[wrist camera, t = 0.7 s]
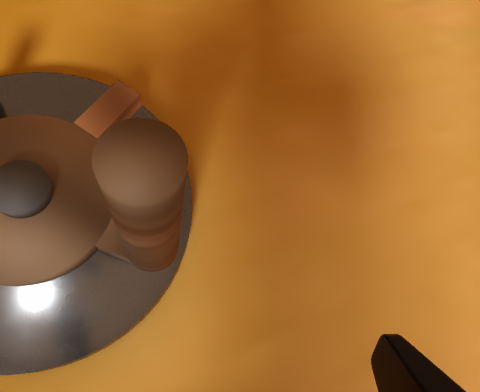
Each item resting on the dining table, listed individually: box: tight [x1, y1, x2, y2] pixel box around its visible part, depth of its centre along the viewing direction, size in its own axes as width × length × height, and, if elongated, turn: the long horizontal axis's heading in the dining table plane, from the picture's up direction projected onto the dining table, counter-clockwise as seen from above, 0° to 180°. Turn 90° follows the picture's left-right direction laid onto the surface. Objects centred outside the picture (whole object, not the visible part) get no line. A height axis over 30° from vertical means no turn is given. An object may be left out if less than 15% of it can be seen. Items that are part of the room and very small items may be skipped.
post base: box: [0, 72, 192, 375], centre depth 21 cm, size 17×17×5 cm
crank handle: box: [0, 80, 188, 286], centre depth 17 cm, size 12×13×11 cm
